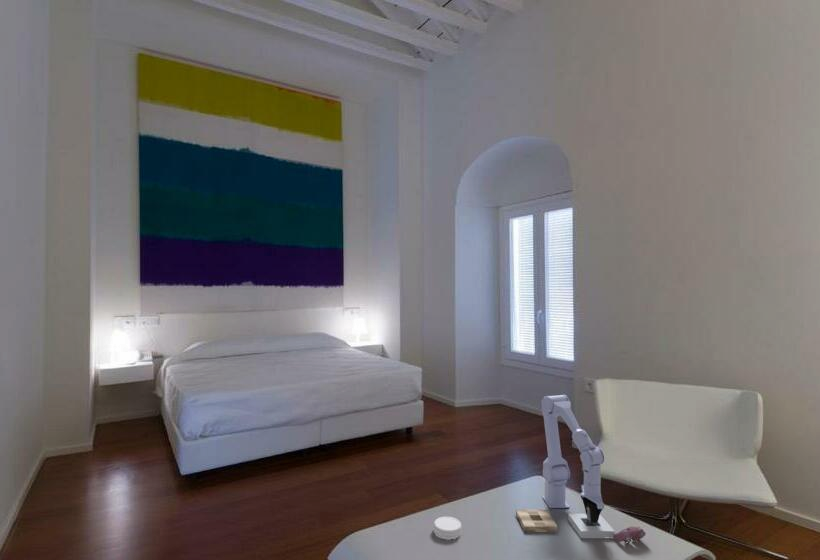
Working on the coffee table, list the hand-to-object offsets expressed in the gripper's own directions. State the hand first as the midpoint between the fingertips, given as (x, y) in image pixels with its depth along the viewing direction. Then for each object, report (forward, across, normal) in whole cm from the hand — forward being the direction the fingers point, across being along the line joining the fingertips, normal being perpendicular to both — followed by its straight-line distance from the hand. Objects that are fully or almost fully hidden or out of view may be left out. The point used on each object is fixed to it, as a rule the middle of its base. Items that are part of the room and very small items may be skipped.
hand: (592, 519), depth 161 cm
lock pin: (+3, 0, 0) cm, 3 cm away
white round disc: (+4, +2, -54) cm, 54 cm away
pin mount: (+4, -4, -20) cm, 20 cm away
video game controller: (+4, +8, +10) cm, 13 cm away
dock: (+4, 0, 0) cm, 4 cm away
